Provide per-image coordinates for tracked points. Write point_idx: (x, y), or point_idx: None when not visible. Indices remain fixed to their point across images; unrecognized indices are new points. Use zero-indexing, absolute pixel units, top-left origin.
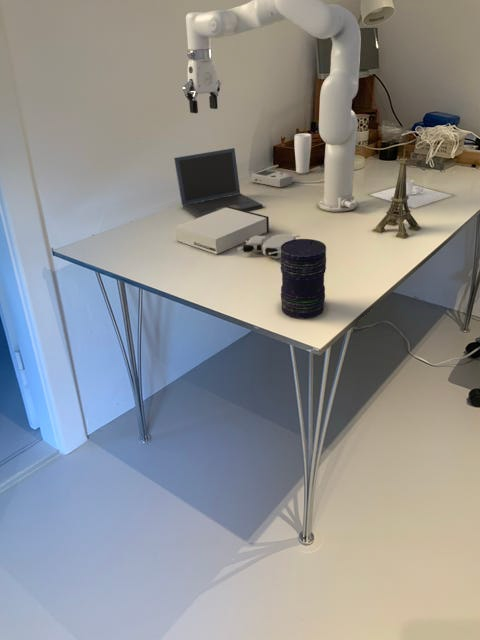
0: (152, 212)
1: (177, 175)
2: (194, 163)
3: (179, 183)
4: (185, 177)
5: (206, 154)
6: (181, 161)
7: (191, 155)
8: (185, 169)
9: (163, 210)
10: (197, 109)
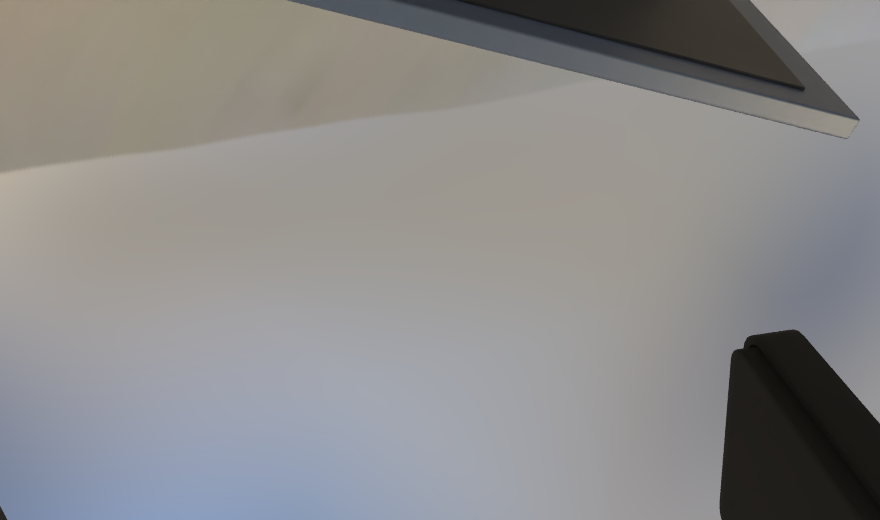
0: (861, 40)
1: (782, 38)
2: (621, 18)
3: (749, 5)
4: (703, 2)
5: (462, 9)
6: (777, 74)
7: (662, 68)
8: (716, 28)
9: (792, 15)
10: (800, 383)
